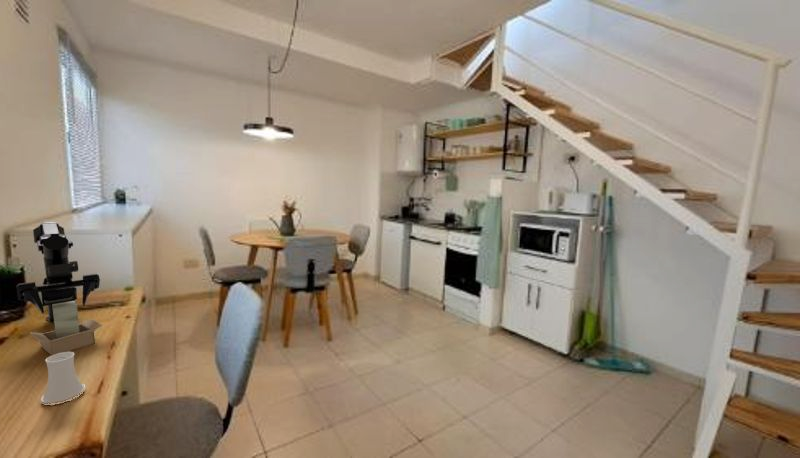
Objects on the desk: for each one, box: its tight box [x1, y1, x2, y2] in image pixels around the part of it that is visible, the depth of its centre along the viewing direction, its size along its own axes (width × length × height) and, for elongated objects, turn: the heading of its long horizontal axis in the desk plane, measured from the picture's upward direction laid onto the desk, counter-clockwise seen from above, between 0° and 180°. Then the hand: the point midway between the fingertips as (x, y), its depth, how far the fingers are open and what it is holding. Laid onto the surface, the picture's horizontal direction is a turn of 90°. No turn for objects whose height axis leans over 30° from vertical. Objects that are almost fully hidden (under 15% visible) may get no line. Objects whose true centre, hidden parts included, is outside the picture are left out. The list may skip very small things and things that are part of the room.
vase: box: [40, 351, 86, 405], centre depth 81 cm, size 8×8×10 cm
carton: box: [29, 317, 102, 356], centre depth 105 cm, size 12×14×5 cm
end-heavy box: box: [52, 300, 80, 339], centre depth 105 cm, size 5×5×13 cm
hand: (64, 309), depth 107 cm, fingers open, 9 cm apart
